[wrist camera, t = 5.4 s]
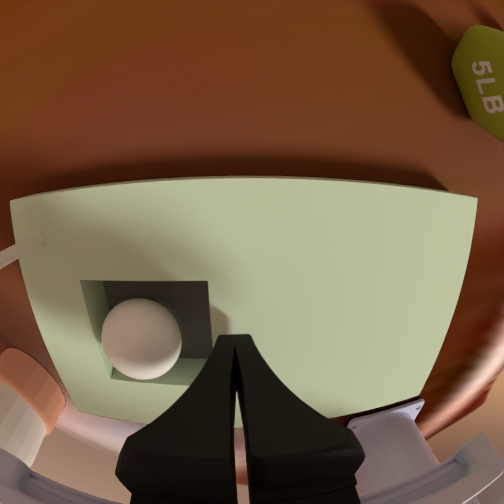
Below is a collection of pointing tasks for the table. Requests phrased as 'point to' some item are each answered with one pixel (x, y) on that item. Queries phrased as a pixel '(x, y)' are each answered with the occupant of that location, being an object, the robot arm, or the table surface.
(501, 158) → the table surface
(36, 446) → the pepper shaker
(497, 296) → the table surface
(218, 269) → the pale green box
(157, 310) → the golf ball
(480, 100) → the dumbbell
